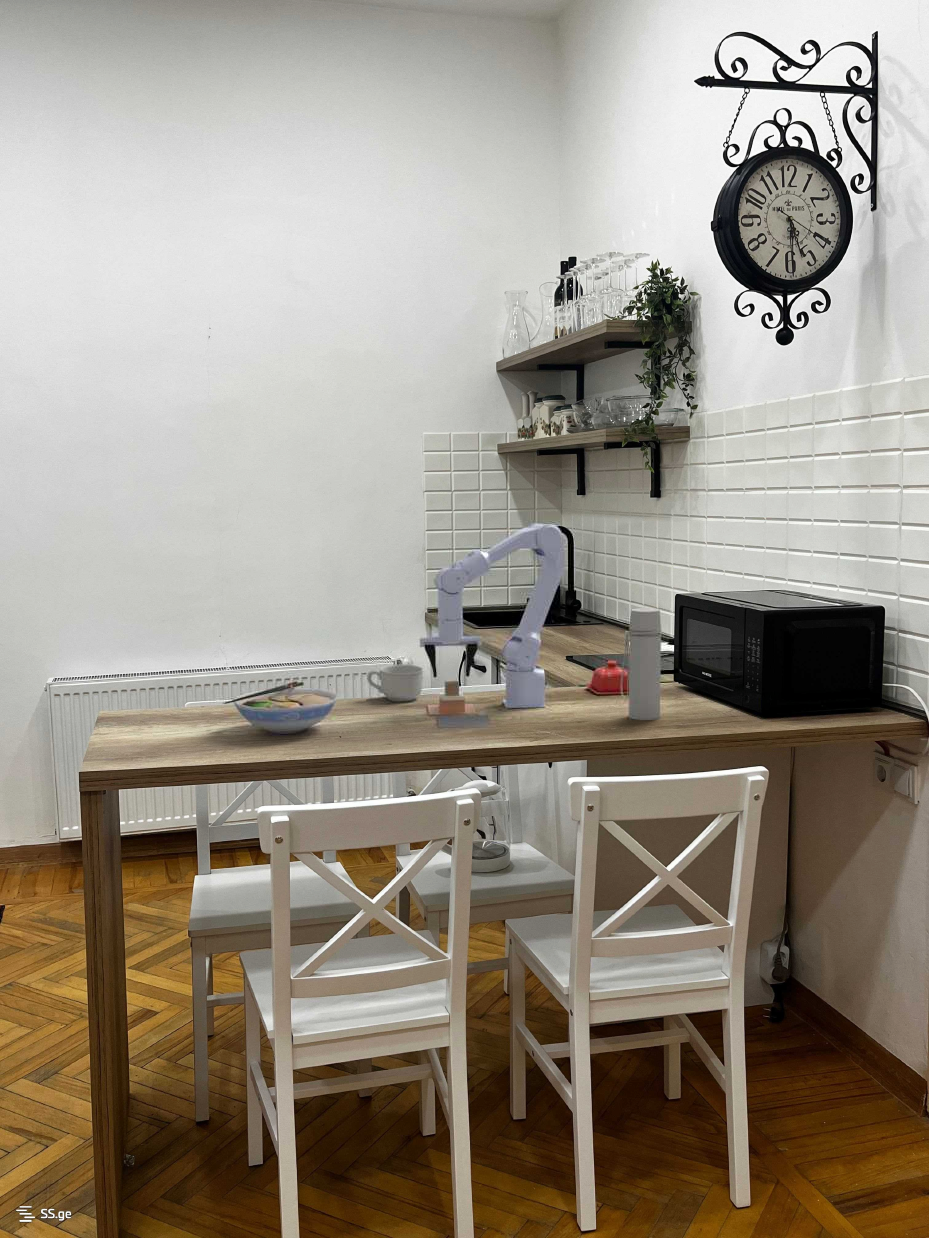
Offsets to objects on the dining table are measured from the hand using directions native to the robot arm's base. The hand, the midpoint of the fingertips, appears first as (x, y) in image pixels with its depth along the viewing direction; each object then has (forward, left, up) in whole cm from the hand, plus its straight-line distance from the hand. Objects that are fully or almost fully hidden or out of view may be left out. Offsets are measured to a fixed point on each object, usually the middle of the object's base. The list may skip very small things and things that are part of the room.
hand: (451, 676), depth 252 cm
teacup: (+13, -16, -9) cm, 22 cm away
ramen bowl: (+37, +16, -9) cm, 41 cm away
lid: (0, +2, -5) cm, 5 cm away
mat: (-2, +13, -8) cm, 16 cm away
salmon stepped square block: (0, 0, -8) cm, 8 cm away
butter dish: (-42, -18, -9) cm, 47 cm away
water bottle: (-42, +14, -9) cm, 45 cm away
